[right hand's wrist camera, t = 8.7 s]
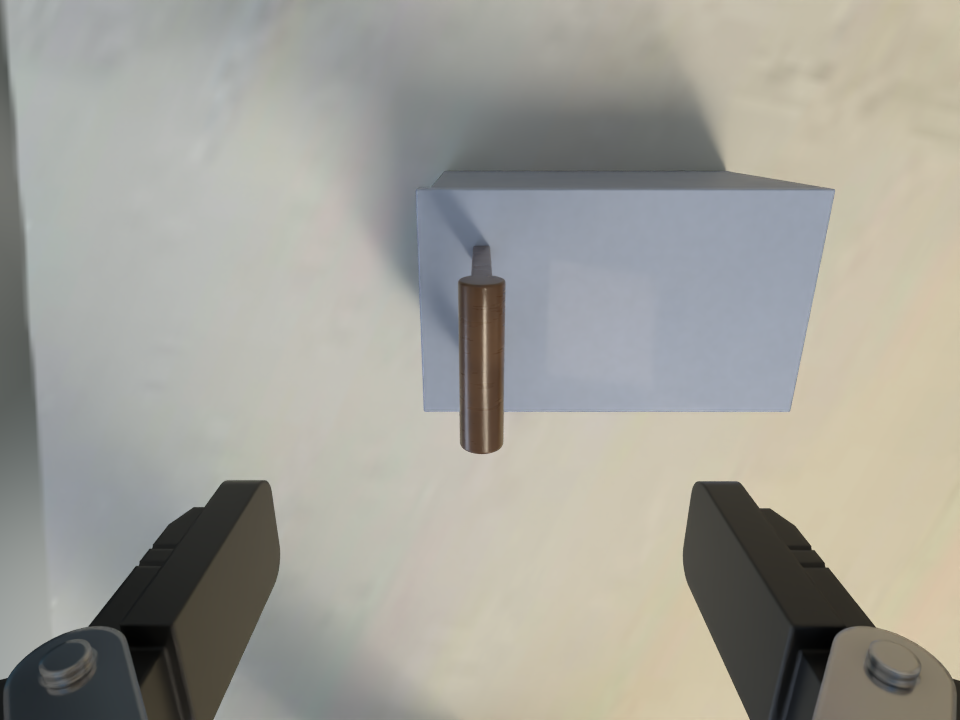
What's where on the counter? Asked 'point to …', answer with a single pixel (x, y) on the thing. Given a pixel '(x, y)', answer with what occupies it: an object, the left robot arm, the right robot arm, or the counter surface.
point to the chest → (606, 179)
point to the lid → (613, 299)
